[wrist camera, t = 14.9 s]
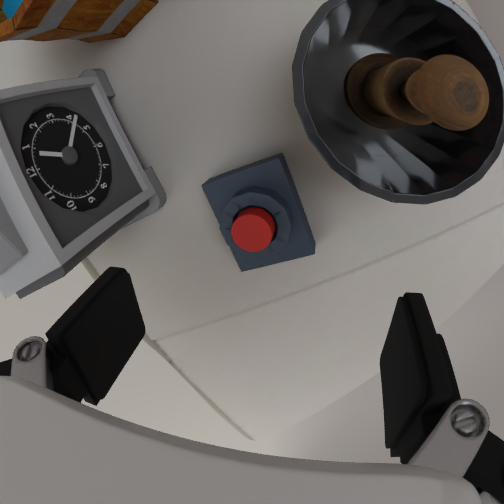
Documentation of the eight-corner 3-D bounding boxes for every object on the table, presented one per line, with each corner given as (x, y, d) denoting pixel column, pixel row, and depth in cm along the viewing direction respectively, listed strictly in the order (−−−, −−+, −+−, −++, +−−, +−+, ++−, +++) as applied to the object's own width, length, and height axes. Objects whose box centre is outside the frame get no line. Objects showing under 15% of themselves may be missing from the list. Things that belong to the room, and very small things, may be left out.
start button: (280, 237, 29) (277, 246, 27) (245, 247, 30) (240, 256, 29) (266, 202, 27) (262, 209, 26) (230, 213, 29) (224, 221, 27)
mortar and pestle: (423, 120, 23) (542, 171, 8) (357, 134, 25) (405, 201, 10) (402, 50, 21) (505, 4, 5) (334, 64, 23) (349, 15, 7)
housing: (315, 244, 32) (313, 263, 29) (246, 261, 35) (236, 281, 32) (282, 152, 29) (276, 161, 25) (208, 178, 31) (194, 191, 28)
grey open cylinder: (458, 143, 24) (524, 179, 14) (334, 175, 29) (338, 227, 18) (416, 12, 19) (465, -26, 9) (283, 45, 24) (255, 15, 13)
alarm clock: (170, 202, 34) (59, 301, 18) (98, 238, 39) (4, 322, 23) (100, 64, 27) (-42, 81, 12) (39, 124, 32) (-74, 168, 17)
